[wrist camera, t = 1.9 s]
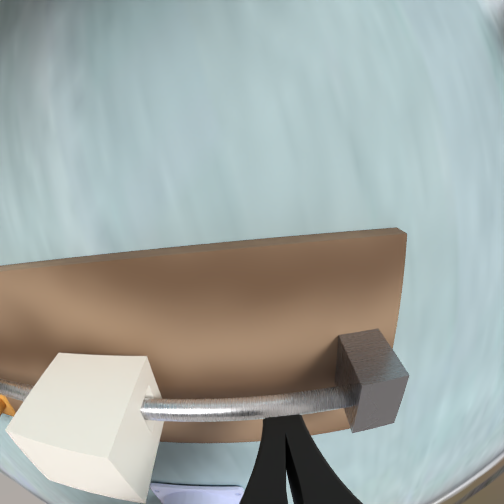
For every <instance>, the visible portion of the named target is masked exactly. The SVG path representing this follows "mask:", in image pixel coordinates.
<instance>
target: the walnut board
mask: <svg viewBox="0 0 504 504" xmlns="http://www.w3.org/2000/svg"><path fill="white" fill-rule="evenodd" d="M406 242H407V233H405V232H403V231H402V230H400V229H398V228H386V229H373V230H360V231H348V232H335V233H323V234H312V235H300V236H288V237H277V238H266V239H254V240H243V241H233V242H222V243H211V244H201V245H190V246H180V247H170V248H160V249H150V250H140V251H130V252H120V253H111V254H101V255H92V256H83V257H74V258H64V259H55V260H47V261H38V262H29V263H20V264H12V265H3V266H0V378H2V379H6V380H10V381H15V382H19V383H24V384H29V385H34V386H35V384H36V383H37V382H38V380H39V379H40V377H41V376H42V375H43V373H44V372H45V371H46V369H47V368H48V366H49V365H50V364H51V362H52V361H53V360H54V358H55V357H56V356H57V354H58V353H71V354H88V355H112V356H147V358H148V361H149V364H150V366H151V369H152V372H153V375H154V378H155V381H156V383H157V386H158V389H159V391H160V394H161V397H162V399H219V398H239V397H254V396H266V395H276V394H286V393H294V392H302V391H310V390H317V389H323V388H330V387H336V385H335V382H334V381H335V371H336V360H337V348H338V335H341V334H348V333H354V332H360V331H366V330H372V329H379V330H380V331H381V333H382V334H383V336H384V337H385V339H386V340H387V342H388V343H389V345H390V346H391V348H393V343H394V338H395V332H396V327H397V320H398V314H399V307H400V300H401V293H402V285H403V276H404V266H405V255H406ZM23 402H24V401H21V400H18V399H14V398H10V397H7V396H3V395H0V416H1V414H2V413H4V414H7V415H10V416H13V417H14V415H15V414H16V412H17V411H18V409H19V408H20V406H21V405H22V403H23ZM302 417H303V420H304V422H305V425H306V427H307V429H308V431H309V433H310V435H316V434H322V433H328V432H334V431H339V430H344V429H349V428H350V425H349V422H348V420H347V417H346V414H345V411H344V408H341V409H336V410H330V411H324V412H317V413H311V414H304V415H302ZM262 428H263V419H256V420H241V421H216V422H178V421H164V424H163V428H162V433H161V437H160V441H159V442H178V443H234V442H253V441H261V437H262Z"/></svg>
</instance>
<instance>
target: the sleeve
mask: <svg viewBox="0 0 504 504" xmlns="http://www.w3.org/2000/svg"><path fill="white" fill-rule="evenodd" d="M144 398H150V399H162V397H161V394H160V391H159V389H158V386H157V383H156V381H155V378H154V375H153V372H152V369H151V366H150V364H149V361H148V358H147V356H112V355H88V354H71V353H58V354H57V356H56V357H55V358H54V360H53V361H52V362H51V364H50V365H49V366H48V368H47V369H46V371H45V372H44V373H43V375H42V376H41V377H40V379H39V380H38V382H37V383H36V384H35V386H34V387H33V389H32V390H31V392H30V393H29V394H28V396H27V397H26V399H25V400H24V402H23V403H22V405H21V406H20V408H19V409H18V411H17V412H16V414H15V415H14V417H13V418H12V420H11V422H10V423H9V425H8V426H7V428H6V429H5V431H6V432H7V433H8V434H9V436H10V437H11V438H12V439H13V441H14V442H15V443H16V444H17V446H18V447H19V448H20V449H21V450H22V451H23V453H24V454H25V455H26V456H27V457H28V458H29V459H30V461H31V462H32V463H33V464H34V465H35V466H36V467H37V468H38V469H39V470H40V471H41V472H42V473H43V475H44V476H45V477H46V478H47V479H48V480H51V481H54V482H57V483H60V484H63V485H66V486H69V487H73V488H76V489H80V490H83V491H87V492H91V493H95V494H99V495H103V496H107V497H112V498H117V499H122V500H127V501H133V502H139V503H145V504H146V500H147V495H148V490H149V486H150V481H151V476H152V472H153V467H154V463H155V458H156V454H157V450H158V445H159V441H160V437H161V433H162V428H163V424H164V421H153V420H144V418H143V416H142V414H141V412H140V409H141V406H142V403H143V400H144Z"/></svg>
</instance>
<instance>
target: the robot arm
mask: <svg viewBox="0 0 504 504" xmlns="http://www.w3.org/2000/svg"><path fill="white" fill-rule="evenodd" d="M286 471H287V475H288V480H289V484H290V489H291V493H292V497H293V502H294V504H363V503H362V502H361V501H359V500H358V499H357V498H356V497H355V496H354V495H353V493H352V492H351V491H350V490H349V489H348V488H347V487H346V486H345V485H344V484H343V482H342V481H341V480H340V479H339V477H338V476H337V475H336V474H335V472H334V471H333V470H332V468H331V467H330V466H329V464H328V463H327V461H326V460H325V458H324V457H323V455H322V454H321V452H320V451H319V449H318V447H317V446H316V444H315V442H314V441H313V439H312V437H311V435H310V433H309V431H308V429H307V427H306V425H305V422H304V420H303V417H302V415H300V414H296V415H287V416H278V417H268V418H265V419H263V428H262V437H261V442H260V447H259V451H258V455H257V458H256V462H255V465H254V468H253V471H252V474H251V477H250V479H249V482H248V485H247V487H246V489H245V492H244V490H243V488H242V487H239V486H230V487H210V486H184V485H170V484H160V483H150V486H149V487H150V489H151V490H152V491H153V492H154V494H155V495H156V496H157V497H158V499H159V500H160V501H161V502H162V503H163V504H288V500H287V493H286Z"/></svg>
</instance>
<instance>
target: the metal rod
mask: <svg viewBox="0 0 504 504" xmlns="http://www.w3.org/2000/svg"><path fill="white" fill-rule="evenodd" d="M408 378H409V374H408V372H407V371H406V369H405V368H404V366H403V365H402V363H401V362H400V360H399V359H398V357H397V355H396V354H395V352H394V351H393V349H392V348H391V346H390V345H389V343H388V342H387V340H386V339H385V337H384V336H383V334H382V333H381V331H380V330H379V329H372V330H366V331H360V332H354V333H348V334H341V335H338V348H337V360H336V371H335V381H334V382H335V385H336V387H330V388H323V389H317V390H310V391H302V392H294V393H286V394H276V395H266V396H254V397H239V398H219V399H150V398H144V400H143V403H142V406H141V409H140V412H141V414H142V416H143V418H144V420H153V421H178V422H216V421H241V420H256V419H265V418H268V417H278V416H287V415H296V414H300V415H304V414H311V413H317V412H324V411H330V410H336V409H341V408H344V411H345V414H346V417H347V420H348V422H349V425H350V428H351V431H352V433H355V432H359V431H364V430H368V429H372V428H376V427H380V426H384V425H388V424H391V423H394V421H395V418H396V416H397V413H398V410H399V407H400V404H401V401H402V398H403V394H404V391H405V388H406V385H407V381H408ZM33 387H34V385H29V384H24V383H19V382H15V381H10V380H6V379H2V378H0V395H3V396H7V397H10V398H14V399H18V400H21V401H24V400H25V399H26V397H27V396H28V394H29V393H30V392H31V390H32V389H33Z"/></svg>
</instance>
